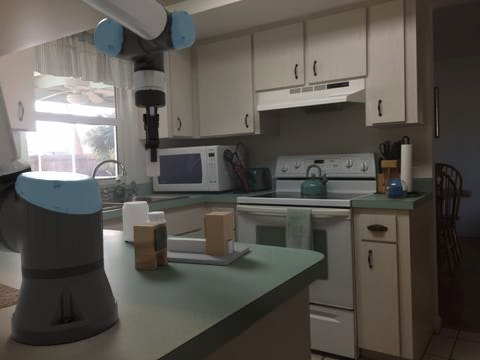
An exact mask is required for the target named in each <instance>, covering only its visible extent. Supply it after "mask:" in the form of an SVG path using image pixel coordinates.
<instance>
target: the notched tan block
mask: <svg viewBox="0 0 480 360" xmlns="http://www.w3.org/2000/svg"><path fill="white" fill-rule="evenodd" d="M166 223H167V221H166V222H146V223H142V224H138V225H135V226H133V230H134V242H133V246H134V247H133V248H134V250H133V251H134V268H135V269H136V270H147V271H155V270H157V269H158V266H166V265H168V261H167V239H168V229H166Z"/></svg>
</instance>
